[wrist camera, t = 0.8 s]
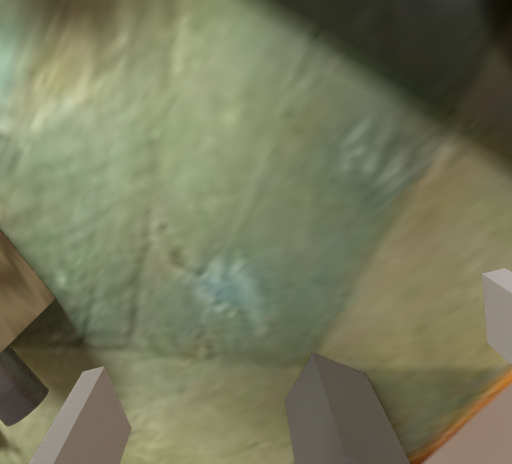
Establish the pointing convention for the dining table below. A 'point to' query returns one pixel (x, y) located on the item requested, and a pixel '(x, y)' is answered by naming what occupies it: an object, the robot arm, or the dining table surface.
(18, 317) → the brown wooden block
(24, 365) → the axle
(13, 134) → the dining table surface
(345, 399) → the perfume bottle
